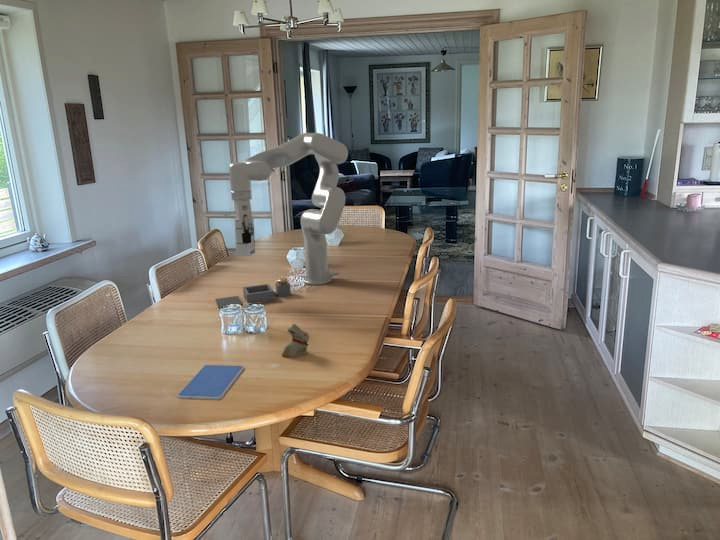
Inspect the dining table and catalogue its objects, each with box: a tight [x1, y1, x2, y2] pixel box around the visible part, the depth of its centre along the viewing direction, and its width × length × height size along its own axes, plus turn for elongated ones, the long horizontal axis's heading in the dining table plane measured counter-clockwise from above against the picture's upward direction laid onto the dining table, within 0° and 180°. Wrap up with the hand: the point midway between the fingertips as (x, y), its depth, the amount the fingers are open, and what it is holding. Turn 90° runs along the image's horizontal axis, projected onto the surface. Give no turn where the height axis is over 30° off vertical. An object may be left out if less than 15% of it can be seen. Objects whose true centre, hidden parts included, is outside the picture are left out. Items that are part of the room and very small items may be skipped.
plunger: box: [276, 277, 288, 285], centre depth 231 cm, size 4×4×6 cm
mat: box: [215, 295, 243, 309], centre depth 225 cm, size 9×11×1 cm
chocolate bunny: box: [281, 323, 310, 358], centre depth 174 cm, size 6×8×10 cm
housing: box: [242, 280, 292, 304], centre depth 230 cm, size 18×11×5 cm, turn 109°
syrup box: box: [234, 216, 256, 257], centre depth 221 cm, size 6×6×14 cm
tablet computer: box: [176, 364, 245, 401], centre depth 158 cm, size 19×13×1 cm, turn 172°
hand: (245, 240), depth 222 cm, fingers closed on syrup box, 7 cm apart
